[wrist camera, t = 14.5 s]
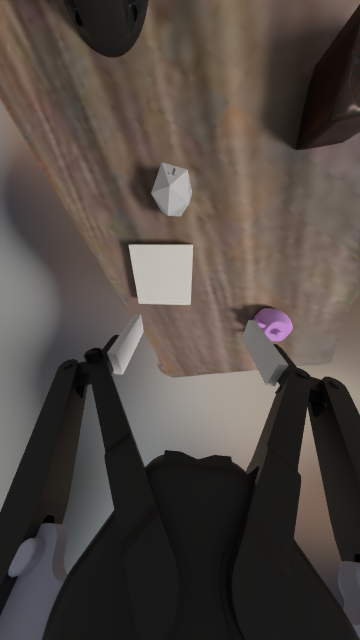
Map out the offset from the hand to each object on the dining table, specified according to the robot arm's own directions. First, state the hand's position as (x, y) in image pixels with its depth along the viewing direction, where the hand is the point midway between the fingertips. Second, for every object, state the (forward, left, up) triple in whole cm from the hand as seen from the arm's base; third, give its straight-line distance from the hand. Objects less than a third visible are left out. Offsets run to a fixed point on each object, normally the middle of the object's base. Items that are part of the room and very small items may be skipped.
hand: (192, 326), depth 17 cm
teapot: (+19, +27, -33) cm, 46 cm away
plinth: (+2, -9, -32) cm, 33 cm away
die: (-18, -5, -33) cm, 38 cm away
